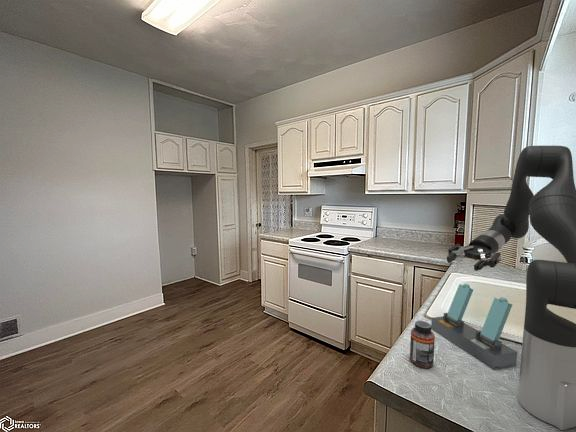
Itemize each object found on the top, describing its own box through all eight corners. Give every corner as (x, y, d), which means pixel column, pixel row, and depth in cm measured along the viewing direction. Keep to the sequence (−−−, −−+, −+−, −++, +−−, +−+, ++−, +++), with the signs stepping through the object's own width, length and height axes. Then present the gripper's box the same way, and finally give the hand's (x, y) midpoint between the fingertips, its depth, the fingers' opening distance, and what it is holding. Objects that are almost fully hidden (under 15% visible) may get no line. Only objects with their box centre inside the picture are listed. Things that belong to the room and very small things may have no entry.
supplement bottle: (412, 353, 77) (414, 316, 76) (435, 361, 73) (437, 323, 72) (407, 363, 72) (409, 324, 71) (430, 372, 68) (433, 331, 68)
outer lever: (459, 325, 85) (475, 286, 85) (455, 324, 85) (470, 285, 85) (449, 320, 89) (464, 282, 89) (445, 318, 88) (460, 281, 89)
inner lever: (496, 346, 73) (514, 301, 74) (491, 345, 73) (509, 299, 73) (483, 339, 77) (499, 296, 77) (478, 337, 77) (495, 294, 77)
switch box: (516, 365, 72) (517, 344, 71) (493, 369, 70) (495, 347, 69) (449, 326, 93) (450, 309, 92) (431, 328, 91) (432, 311, 91)
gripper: (465, 230, 97) (439, 249, 91) (511, 238, 85) (484, 260, 78) (466, 248, 99) (441, 267, 93) (511, 258, 87) (486, 281, 81)
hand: (461, 264), depth 86 cm, fingers open, 8 cm apart
